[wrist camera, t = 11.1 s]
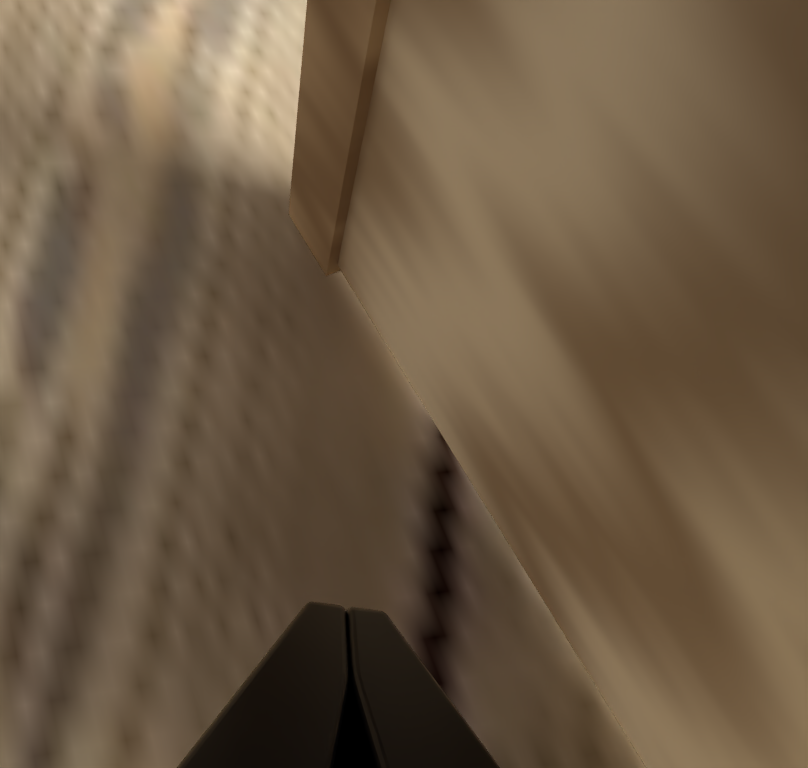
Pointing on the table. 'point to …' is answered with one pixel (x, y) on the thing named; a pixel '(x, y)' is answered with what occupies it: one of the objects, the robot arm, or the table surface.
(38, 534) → the table surface
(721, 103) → the gate
